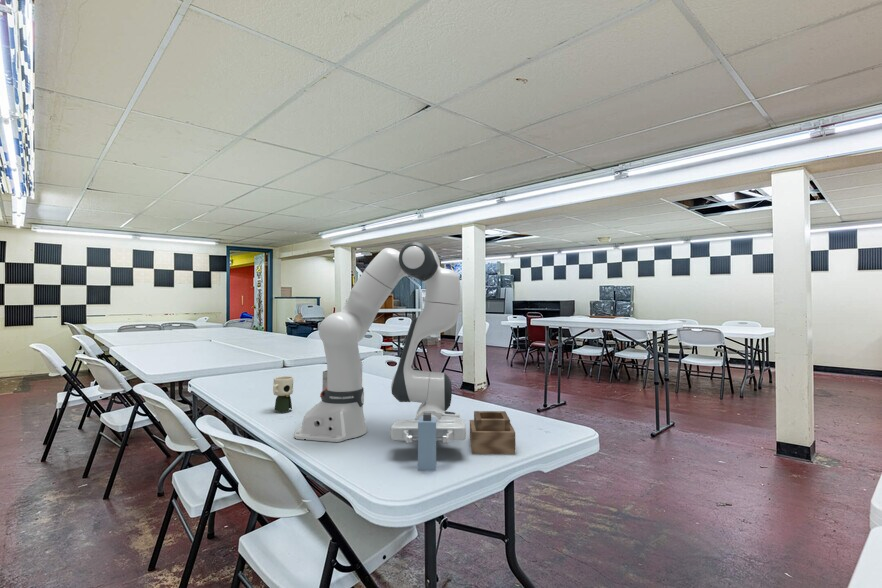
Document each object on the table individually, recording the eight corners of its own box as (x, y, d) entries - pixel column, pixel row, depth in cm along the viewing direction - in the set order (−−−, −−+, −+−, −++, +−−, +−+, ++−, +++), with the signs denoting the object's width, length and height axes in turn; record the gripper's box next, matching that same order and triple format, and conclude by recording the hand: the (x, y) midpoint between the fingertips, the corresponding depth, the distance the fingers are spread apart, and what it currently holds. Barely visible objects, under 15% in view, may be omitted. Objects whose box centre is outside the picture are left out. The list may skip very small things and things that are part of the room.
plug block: (417, 470, 103) (417, 416, 103) (419, 463, 107) (419, 411, 108) (435, 470, 103) (435, 416, 103) (436, 463, 107) (436, 411, 108)
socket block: (472, 454, 114) (472, 421, 114) (469, 439, 126) (469, 410, 126) (515, 454, 114) (515, 421, 114) (508, 439, 126) (508, 410, 126)
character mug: (281, 416, 152) (281, 380, 152) (265, 414, 154) (265, 379, 154) (300, 408, 162) (300, 375, 162) (284, 407, 164) (285, 374, 165)
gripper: (393, 412, 119) (386, 427, 105) (464, 413, 118) (466, 427, 104) (393, 434, 118) (386, 452, 105) (464, 435, 118) (466, 452, 104)
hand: (427, 440), depth 105 cm, fingers open, 8 cm apart
